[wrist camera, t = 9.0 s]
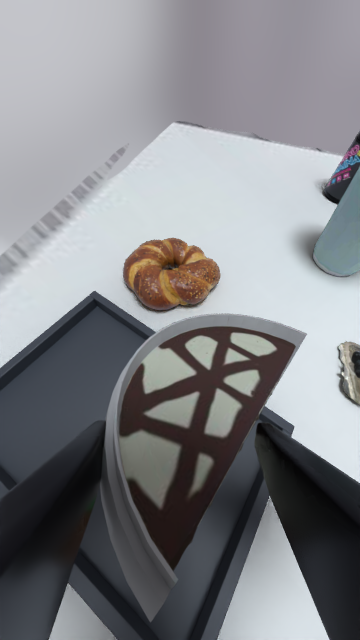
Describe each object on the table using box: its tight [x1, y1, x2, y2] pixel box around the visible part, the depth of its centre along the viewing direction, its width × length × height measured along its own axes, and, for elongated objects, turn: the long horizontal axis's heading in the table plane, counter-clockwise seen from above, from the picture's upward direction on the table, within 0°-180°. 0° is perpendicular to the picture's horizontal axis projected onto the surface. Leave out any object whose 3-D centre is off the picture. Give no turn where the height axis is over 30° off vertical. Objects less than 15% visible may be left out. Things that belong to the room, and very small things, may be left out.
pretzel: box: [123, 238, 220, 310], centre depth 28 cm, size 12×11×4 cm
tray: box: [0, 291, 294, 640], centre depth 19 cm, size 17×24×2 cm
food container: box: [100, 314, 307, 623], centre depth 12 cm, size 12×6×10 cm, turn 135°
